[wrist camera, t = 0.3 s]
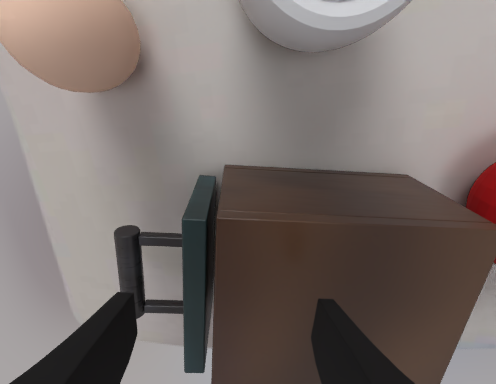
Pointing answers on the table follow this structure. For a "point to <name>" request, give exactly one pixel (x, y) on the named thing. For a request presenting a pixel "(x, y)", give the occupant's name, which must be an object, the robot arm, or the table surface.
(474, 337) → the table surface
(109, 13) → the egg
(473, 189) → the ornament
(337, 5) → the mug
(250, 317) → the cabinet
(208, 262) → the drawer
